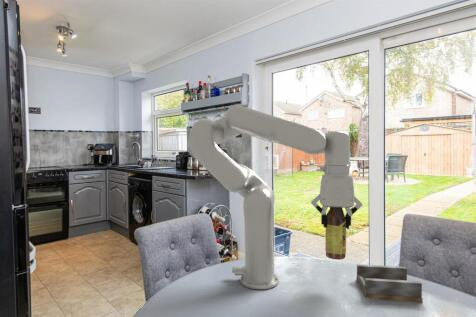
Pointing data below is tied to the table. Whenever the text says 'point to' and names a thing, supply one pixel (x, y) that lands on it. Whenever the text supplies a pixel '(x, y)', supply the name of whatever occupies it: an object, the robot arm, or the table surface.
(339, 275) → the table surface
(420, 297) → the bottle track
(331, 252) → the sauce bottle
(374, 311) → the table surface
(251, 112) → the robot arm
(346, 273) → the table surface
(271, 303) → the table surface
